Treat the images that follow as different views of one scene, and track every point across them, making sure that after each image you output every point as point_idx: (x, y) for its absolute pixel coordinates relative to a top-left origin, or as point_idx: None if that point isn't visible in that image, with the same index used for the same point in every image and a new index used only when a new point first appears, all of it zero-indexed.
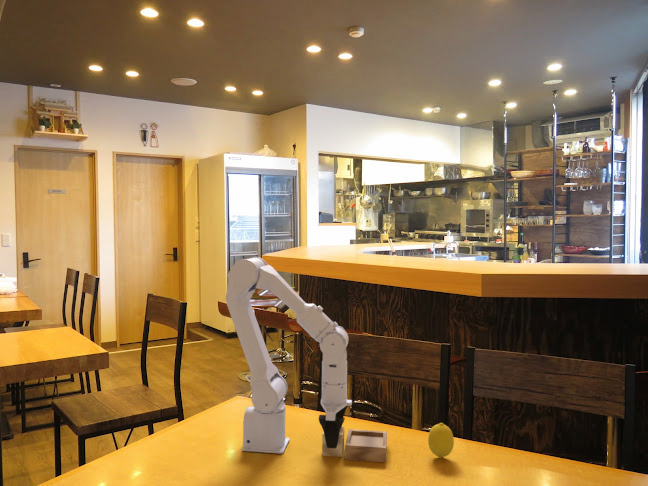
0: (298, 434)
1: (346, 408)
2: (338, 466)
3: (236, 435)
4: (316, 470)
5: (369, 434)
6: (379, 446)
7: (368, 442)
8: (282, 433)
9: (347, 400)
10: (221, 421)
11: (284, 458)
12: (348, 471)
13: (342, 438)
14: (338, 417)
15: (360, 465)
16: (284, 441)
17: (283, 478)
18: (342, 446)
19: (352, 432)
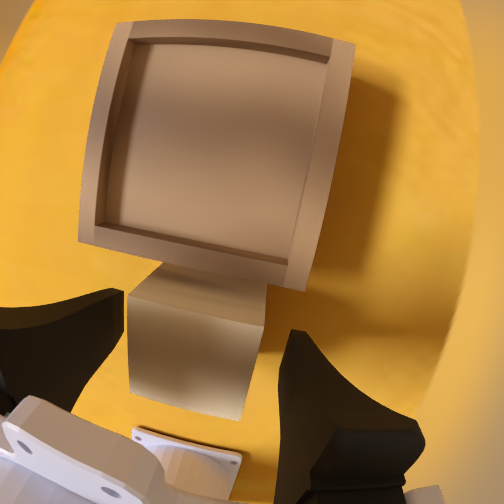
0: (86, 392)
1: (16, 329)
2: (361, 297)
3: None
4: (375, 373)
5: (115, 118)
6: (337, 76)
7: (217, 129)
8: (194, 488)
9: (48, 477)
10: None
11: (269, 448)
12: (409, 260)
13: (256, 312)
14: (328, 471)
15: (364, 197)
16: (184, 456)
17: None
18: (253, 288)
19: (100, 219)
